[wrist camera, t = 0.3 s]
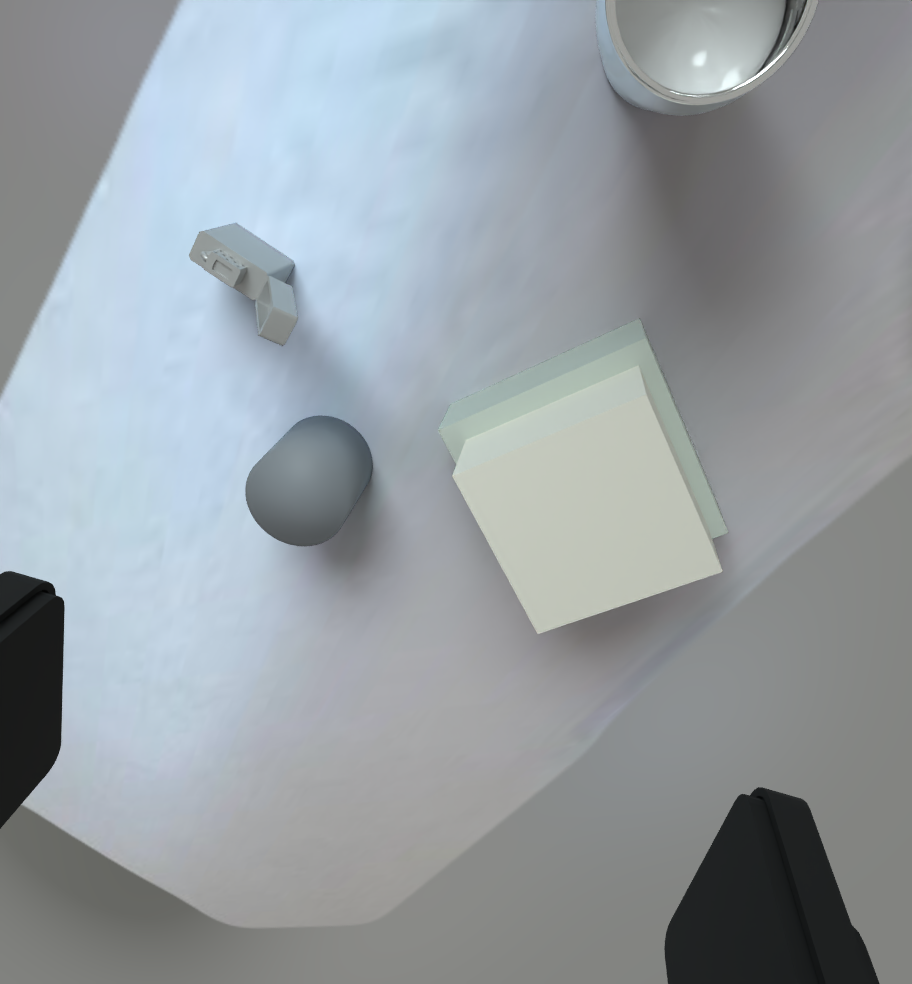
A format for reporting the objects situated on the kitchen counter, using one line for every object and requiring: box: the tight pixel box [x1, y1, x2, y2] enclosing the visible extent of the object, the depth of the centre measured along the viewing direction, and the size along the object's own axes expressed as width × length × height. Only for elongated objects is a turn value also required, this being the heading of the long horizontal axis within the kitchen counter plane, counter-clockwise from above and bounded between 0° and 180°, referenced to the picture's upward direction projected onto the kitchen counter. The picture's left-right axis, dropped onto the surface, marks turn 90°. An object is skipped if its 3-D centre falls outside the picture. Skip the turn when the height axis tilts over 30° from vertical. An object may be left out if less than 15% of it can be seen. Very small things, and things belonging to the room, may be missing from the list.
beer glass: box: [595, 0, 819, 116], centre depth 31 cm, size 7×7×15 cm
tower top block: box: [452, 365, 723, 634], centre depth 40 cm, size 10×10×5 cm
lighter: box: [189, 223, 298, 346], centre depth 41 cm, size 7×2×8 cm, turn 57°
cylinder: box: [246, 416, 373, 546], centre depth 47 cm, size 6×6×6 cm
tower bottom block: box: [438, 318, 728, 539], centre depth 45 cm, size 12×12×5 cm
